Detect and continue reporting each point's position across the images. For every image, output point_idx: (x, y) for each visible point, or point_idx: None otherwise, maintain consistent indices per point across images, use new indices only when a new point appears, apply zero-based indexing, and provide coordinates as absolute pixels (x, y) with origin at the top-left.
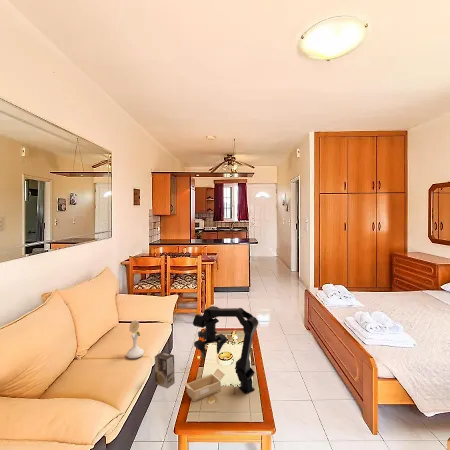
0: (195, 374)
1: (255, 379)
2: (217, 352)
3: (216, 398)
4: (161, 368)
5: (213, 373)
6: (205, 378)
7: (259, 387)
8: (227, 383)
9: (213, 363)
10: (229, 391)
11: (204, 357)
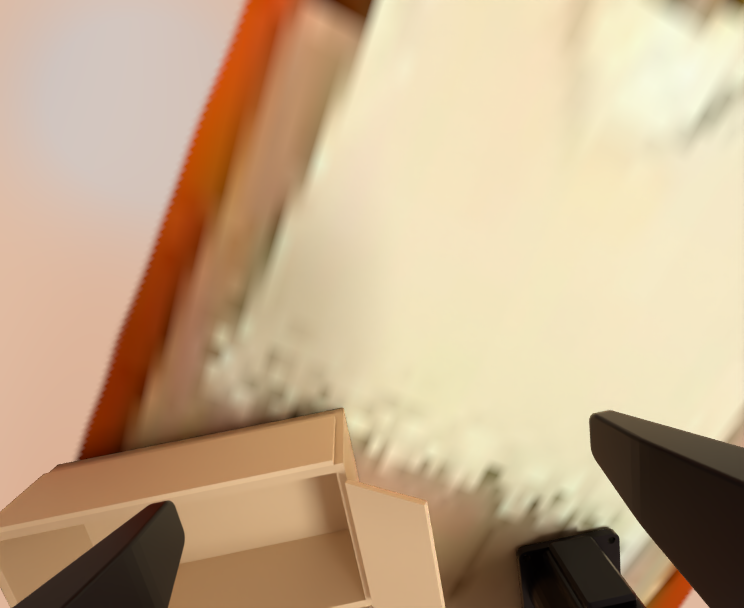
0: (212, 171)
1: None
2: (615, 459)
3: None
4: None
5: (350, 485)
6: (238, 486)
7: (666, 583)
8: (469, 455)
9: (511, 10)
10: None
11: (160, 590)
